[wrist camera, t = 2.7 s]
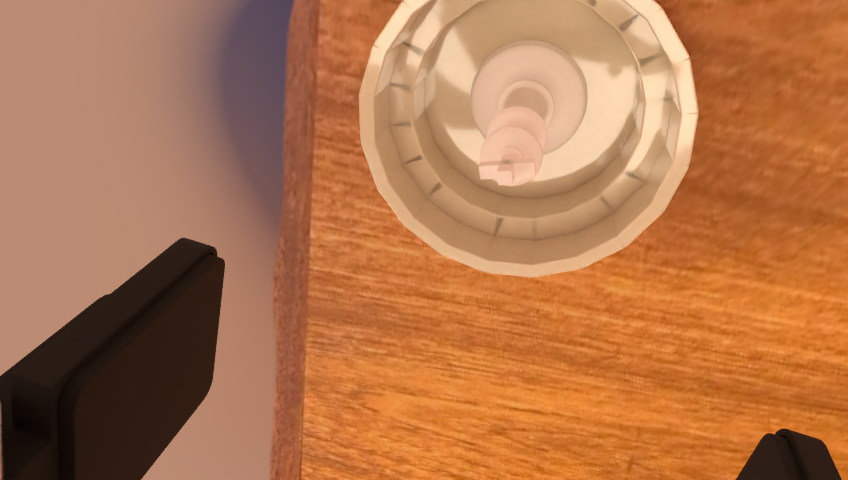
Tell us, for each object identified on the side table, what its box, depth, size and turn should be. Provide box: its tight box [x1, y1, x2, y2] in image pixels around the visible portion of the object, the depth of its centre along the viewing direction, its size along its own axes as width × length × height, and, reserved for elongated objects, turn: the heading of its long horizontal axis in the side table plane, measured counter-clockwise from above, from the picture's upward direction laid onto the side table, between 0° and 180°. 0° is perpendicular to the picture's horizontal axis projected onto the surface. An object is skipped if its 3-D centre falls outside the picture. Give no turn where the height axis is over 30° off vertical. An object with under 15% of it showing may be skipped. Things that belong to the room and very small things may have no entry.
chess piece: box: [471, 40, 588, 186], centre depth 25 cm, size 5×5×10 cm
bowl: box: [359, 0, 699, 278], centre depth 27 cm, size 12×12×5 cm
